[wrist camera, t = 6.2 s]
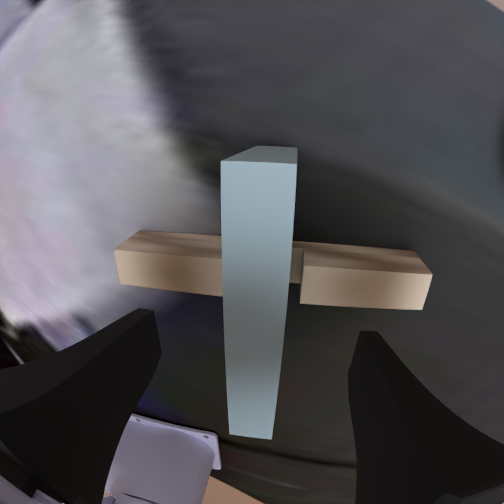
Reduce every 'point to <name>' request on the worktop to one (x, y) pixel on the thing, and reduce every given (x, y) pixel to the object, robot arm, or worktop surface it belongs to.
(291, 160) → the teal plate
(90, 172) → the worktop surface
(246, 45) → the worktop surface
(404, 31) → the worktop surface
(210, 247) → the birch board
